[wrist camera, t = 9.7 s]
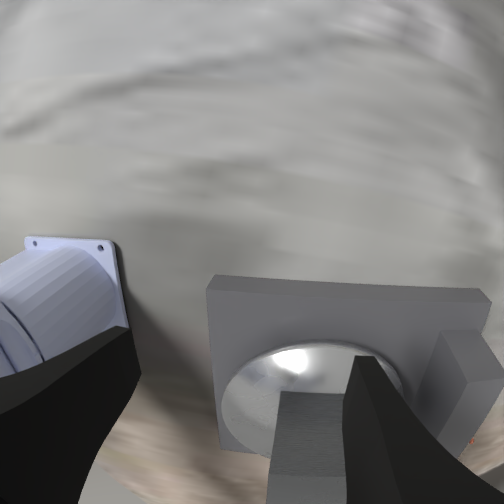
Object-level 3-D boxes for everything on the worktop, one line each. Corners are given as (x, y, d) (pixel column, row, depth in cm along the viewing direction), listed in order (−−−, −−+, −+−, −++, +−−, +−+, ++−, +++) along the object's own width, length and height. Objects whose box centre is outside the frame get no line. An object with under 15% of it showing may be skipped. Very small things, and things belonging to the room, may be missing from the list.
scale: (225, 432, 26) (206, 494, 20) (214, 274, 20) (175, 338, 14) (416, 438, 23) (428, 497, 17) (479, 288, 18) (529, 347, 11)
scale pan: (227, 449, 22) (225, 456, 21) (219, 331, 18) (215, 339, 17) (376, 457, 20) (377, 464, 20) (425, 341, 16) (428, 349, 16)
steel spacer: (277, 434, 19) (265, 507, 14) (280, 390, 18) (268, 473, 12) (342, 436, 19) (343, 509, 13) (355, 393, 17) (363, 476, 12)
